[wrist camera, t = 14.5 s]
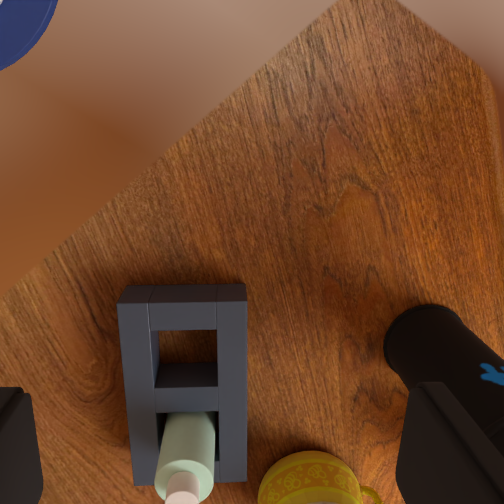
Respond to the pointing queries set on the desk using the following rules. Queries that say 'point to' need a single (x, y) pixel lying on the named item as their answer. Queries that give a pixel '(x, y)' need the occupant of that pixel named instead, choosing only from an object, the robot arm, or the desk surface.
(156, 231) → the desk surface
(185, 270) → the desk surface
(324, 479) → the mug
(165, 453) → the bottle
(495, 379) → the aerosol can
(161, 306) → the hole block
